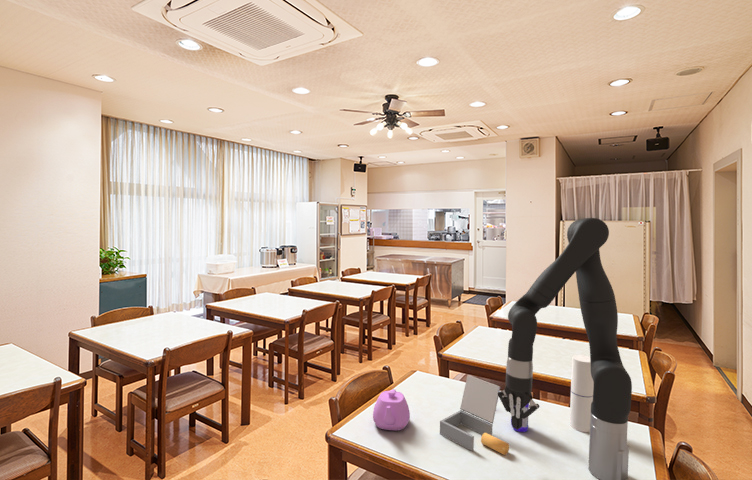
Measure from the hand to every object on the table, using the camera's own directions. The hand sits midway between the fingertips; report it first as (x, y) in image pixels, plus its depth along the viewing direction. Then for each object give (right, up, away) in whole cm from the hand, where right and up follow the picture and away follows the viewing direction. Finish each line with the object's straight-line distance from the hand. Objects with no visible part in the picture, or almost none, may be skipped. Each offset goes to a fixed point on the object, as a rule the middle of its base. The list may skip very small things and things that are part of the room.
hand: (516, 427), depth 115 cm
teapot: (-38, -9, +20) cm, 44 cm away
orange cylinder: (-5, -10, +6) cm, 13 cm away
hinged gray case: (-12, -10, +14) cm, 21 cm away
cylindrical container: (+31, -10, +21) cm, 39 cm away
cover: (-6, +1, +19) cm, 20 cm away
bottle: (+8, -10, +19) cm, 23 cm away
